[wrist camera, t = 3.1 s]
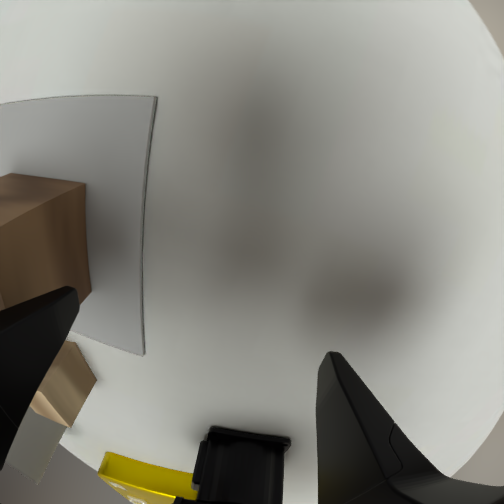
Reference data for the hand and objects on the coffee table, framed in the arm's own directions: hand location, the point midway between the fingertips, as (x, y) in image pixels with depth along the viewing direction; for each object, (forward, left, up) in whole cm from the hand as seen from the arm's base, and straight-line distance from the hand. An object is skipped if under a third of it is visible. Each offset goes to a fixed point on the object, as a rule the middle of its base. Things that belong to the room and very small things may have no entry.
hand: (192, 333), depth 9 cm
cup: (+20, +25, -5) cm, 32 cm away
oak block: (+11, +11, -4) cm, 16 cm away
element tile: (+3, +37, -5) cm, 37 cm away
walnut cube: (+10, 0, -4) cm, 10 cm away
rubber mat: (+15, 0, -4) cm, 16 cm away
